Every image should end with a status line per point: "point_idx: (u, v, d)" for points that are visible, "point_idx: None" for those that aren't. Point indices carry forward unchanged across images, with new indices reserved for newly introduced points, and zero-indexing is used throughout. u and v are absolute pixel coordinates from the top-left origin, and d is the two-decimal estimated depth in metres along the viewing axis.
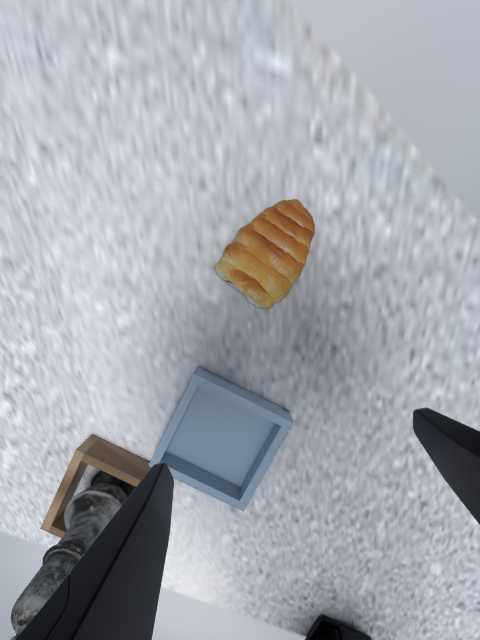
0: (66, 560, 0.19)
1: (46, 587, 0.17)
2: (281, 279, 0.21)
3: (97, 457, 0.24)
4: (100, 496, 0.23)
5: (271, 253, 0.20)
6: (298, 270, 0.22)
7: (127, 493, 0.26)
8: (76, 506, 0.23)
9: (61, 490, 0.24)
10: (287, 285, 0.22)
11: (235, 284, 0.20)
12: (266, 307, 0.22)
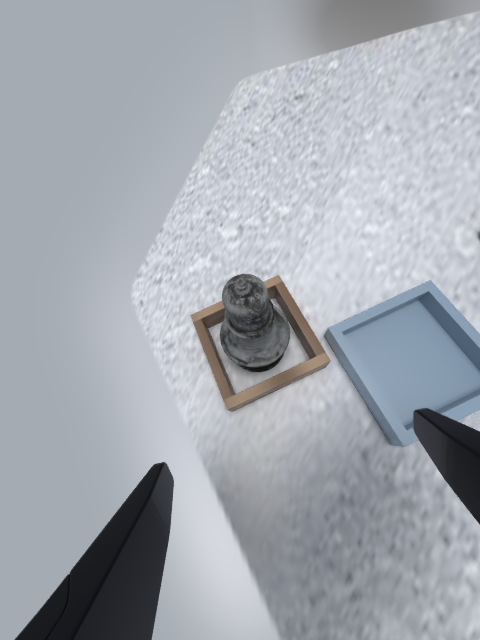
0: None
1: None
2: None
3: (288, 292, 0.24)
4: (278, 314, 0.21)
5: None
6: None
7: None
8: None
9: None
10: None
11: None
12: None
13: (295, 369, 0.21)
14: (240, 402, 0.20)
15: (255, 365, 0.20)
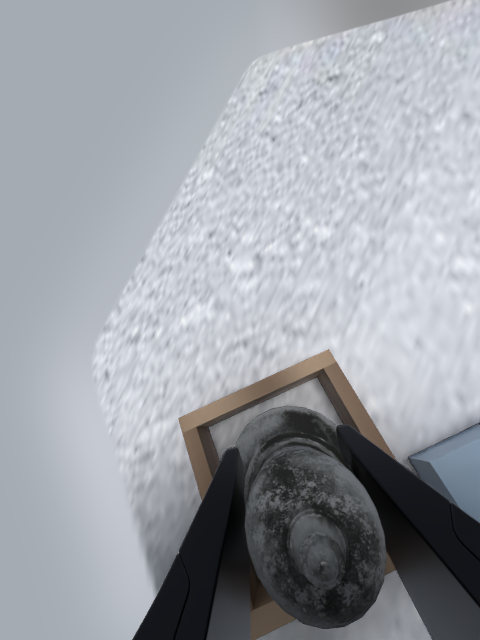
0: None
1: None
2: None
3: (347, 383, 0.14)
4: None
5: None
6: None
7: None
8: (291, 422, 0.12)
9: (258, 388, 0.14)
10: None
11: None
12: None
13: None
14: (269, 629, 0.10)
15: None
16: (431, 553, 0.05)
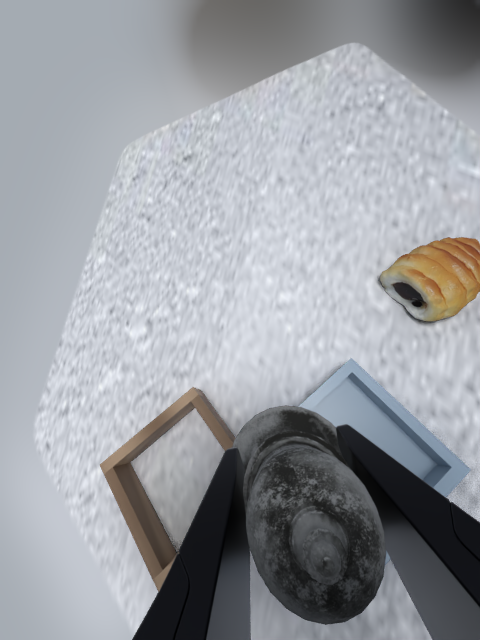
0: None
1: None
2: (460, 289, 0.21)
3: (207, 406, 0.21)
4: (336, 438, 0.12)
5: (454, 263, 0.21)
6: (476, 290, 0.21)
7: None
8: (288, 421, 0.12)
9: (150, 427, 0.20)
10: (463, 300, 0.21)
11: (413, 279, 0.21)
12: (435, 315, 0.21)
13: None
14: None
15: None
16: (431, 553, 0.05)
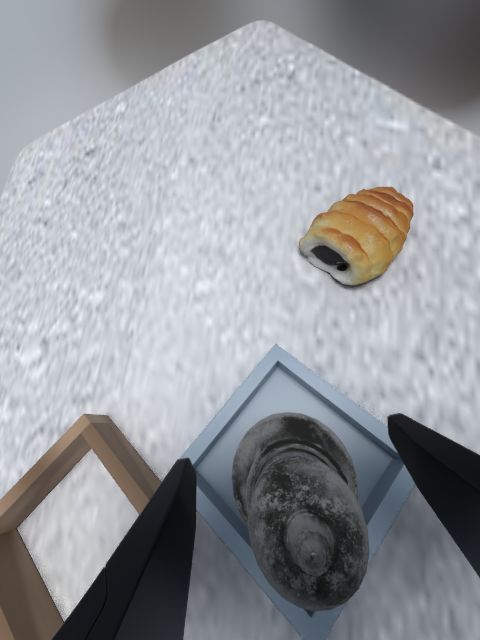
0: None
1: None
2: (382, 240, 0.18)
3: (103, 436, 0.16)
4: (335, 444, 0.12)
5: (370, 212, 0.18)
6: (400, 239, 0.19)
7: None
8: (289, 427, 0.13)
9: (28, 477, 0.15)
10: (388, 252, 0.18)
11: (327, 237, 0.18)
12: (361, 275, 0.18)
13: None
14: None
15: None
16: None
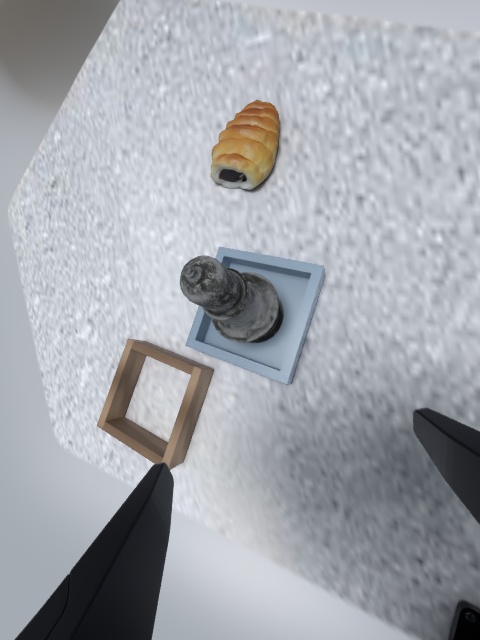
0: None
1: None
2: (256, 144, 0.24)
3: (143, 344, 0.26)
4: (259, 278, 0.20)
5: (241, 129, 0.25)
6: (271, 137, 0.25)
7: None
8: None
9: (115, 382, 0.26)
10: (265, 151, 0.25)
11: (220, 162, 0.25)
12: (254, 176, 0.25)
13: (185, 398, 0.23)
14: (171, 457, 0.22)
15: (254, 338, 0.20)
16: None
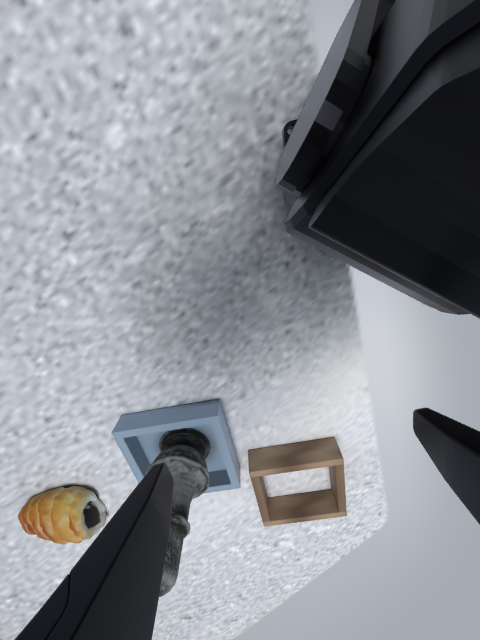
0: None
1: None
2: (54, 518, 0.27)
3: (261, 513, 0.28)
4: None
5: (50, 535, 0.28)
6: (42, 507, 0.28)
7: (179, 440, 0.25)
8: None
9: (303, 519, 0.28)
10: (55, 506, 0.28)
11: (85, 536, 0.28)
12: (80, 502, 0.28)
13: (278, 471, 0.25)
14: (330, 460, 0.24)
15: (194, 463, 0.22)
16: None
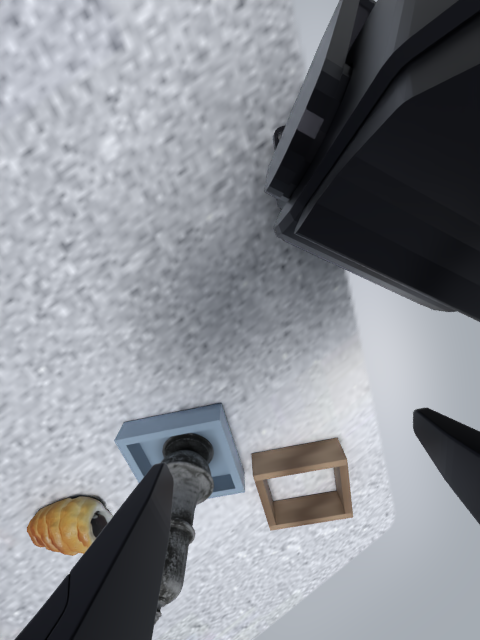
0: None
1: None
2: (62, 529, 0.27)
3: (266, 517, 0.28)
4: None
5: (59, 546, 0.28)
6: (50, 519, 0.28)
7: (182, 445, 0.25)
8: None
9: (309, 522, 0.28)
10: (63, 517, 0.28)
11: None
12: (87, 512, 0.28)
13: (282, 474, 0.25)
14: (334, 461, 0.24)
15: (198, 468, 0.22)
16: None
